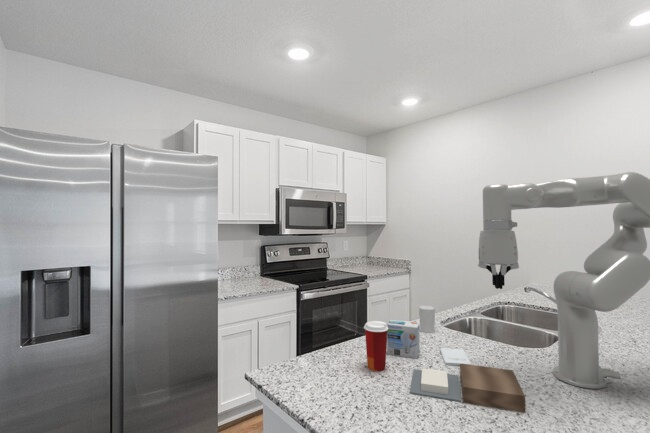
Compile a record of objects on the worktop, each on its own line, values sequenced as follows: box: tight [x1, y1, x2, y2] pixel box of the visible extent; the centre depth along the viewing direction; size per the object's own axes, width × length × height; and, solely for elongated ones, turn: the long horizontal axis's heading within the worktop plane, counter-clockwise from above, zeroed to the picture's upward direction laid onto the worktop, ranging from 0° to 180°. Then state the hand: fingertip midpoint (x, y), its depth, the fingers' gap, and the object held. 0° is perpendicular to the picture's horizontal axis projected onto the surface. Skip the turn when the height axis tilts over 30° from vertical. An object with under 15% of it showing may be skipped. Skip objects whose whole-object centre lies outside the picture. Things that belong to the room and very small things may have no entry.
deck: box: [459, 364, 526, 413], centre depth 90 cm, size 14×15×4 cm
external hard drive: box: [439, 347, 473, 367], centre depth 113 cm, size 2×8×12 cm
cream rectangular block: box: [421, 367, 448, 395], centre depth 94 cm, size 7×10×2 cm
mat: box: [409, 368, 462, 403], centre depth 94 cm, size 13×15×1 cm
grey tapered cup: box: [418, 305, 436, 334], centre depth 142 cm, size 7×7×10 cm
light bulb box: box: [386, 318, 421, 360], centre depth 118 cm, size 11×7×11 cm, turn 68°
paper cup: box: [363, 320, 388, 373], centre depth 106 cm, size 8×8×14 cm
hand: (498, 287), depth 98 cm, fingers closed
